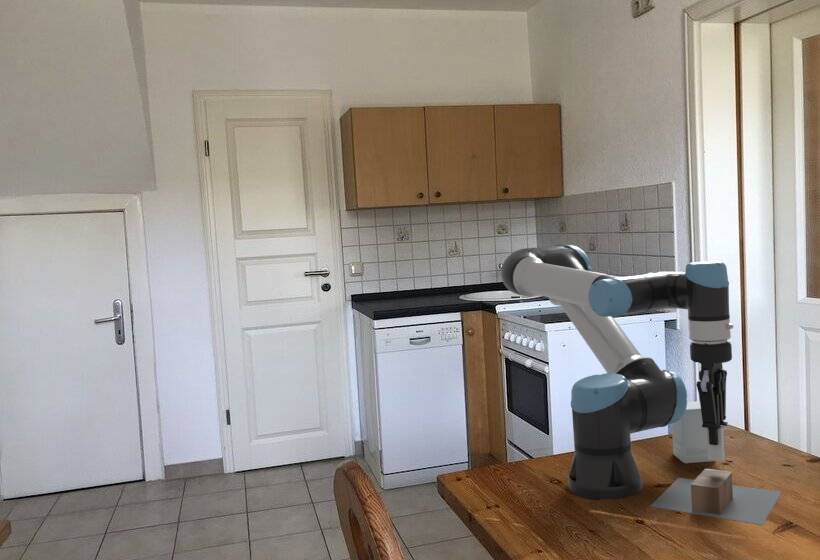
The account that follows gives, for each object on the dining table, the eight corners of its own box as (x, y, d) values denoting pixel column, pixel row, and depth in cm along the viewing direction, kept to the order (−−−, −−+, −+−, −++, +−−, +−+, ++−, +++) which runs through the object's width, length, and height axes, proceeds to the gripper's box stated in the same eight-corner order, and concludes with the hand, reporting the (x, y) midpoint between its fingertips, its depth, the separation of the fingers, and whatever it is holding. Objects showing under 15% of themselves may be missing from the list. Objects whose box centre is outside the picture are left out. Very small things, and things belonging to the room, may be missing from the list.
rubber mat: (650, 508, 140) (650, 506, 140) (678, 479, 154) (678, 477, 154) (762, 527, 128) (762, 524, 128) (782, 493, 142) (781, 491, 142)
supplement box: (716, 462, 163) (713, 407, 162) (683, 465, 163) (680, 410, 162) (703, 453, 170) (701, 400, 169) (672, 455, 170) (669, 402, 170)
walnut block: (706, 493, 144) (692, 510, 136) (705, 468, 144) (690, 484, 136) (733, 496, 141) (719, 514, 133) (731, 471, 141) (718, 488, 133)
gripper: (721, 346, 133) (728, 472, 134) (738, 336, 143) (744, 452, 144) (680, 345, 137) (687, 466, 139) (699, 335, 148) (705, 448, 149)
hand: (716, 459), depth 142 cm, fingers closed
